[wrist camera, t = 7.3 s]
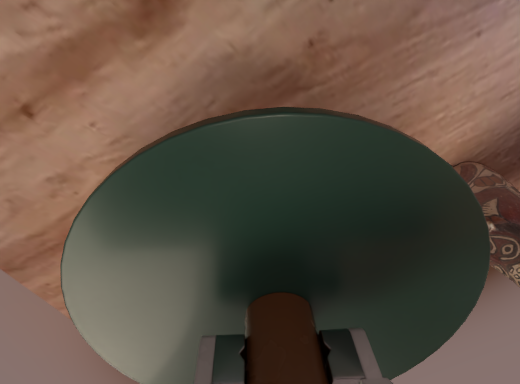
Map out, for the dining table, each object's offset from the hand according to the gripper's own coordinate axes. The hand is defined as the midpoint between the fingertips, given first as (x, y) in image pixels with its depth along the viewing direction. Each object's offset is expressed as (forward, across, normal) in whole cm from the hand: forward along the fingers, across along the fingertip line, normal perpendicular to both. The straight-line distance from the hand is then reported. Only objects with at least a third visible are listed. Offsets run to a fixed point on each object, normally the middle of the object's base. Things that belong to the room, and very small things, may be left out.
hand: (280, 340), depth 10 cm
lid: (+2, 0, 0) cm, 2 cm away
